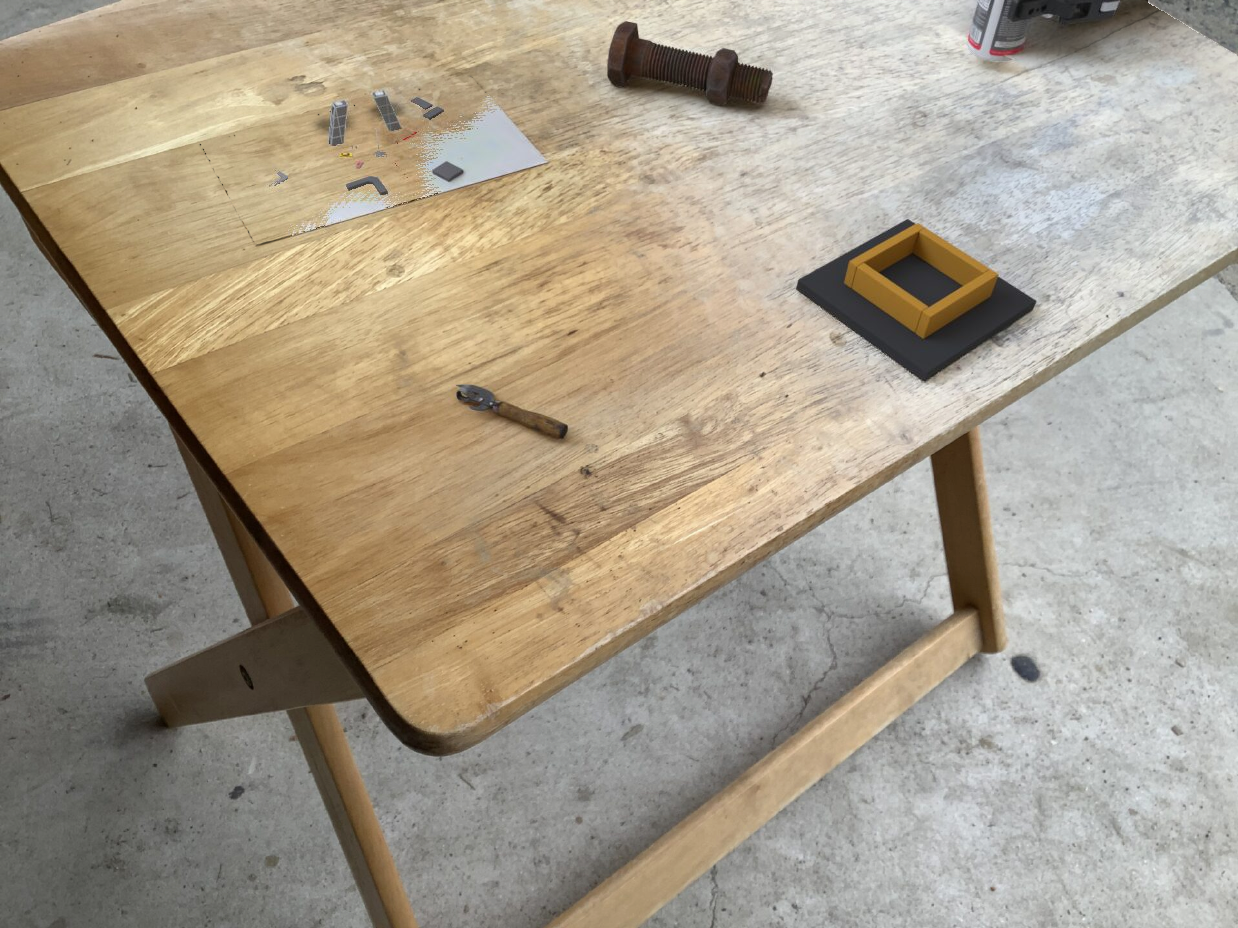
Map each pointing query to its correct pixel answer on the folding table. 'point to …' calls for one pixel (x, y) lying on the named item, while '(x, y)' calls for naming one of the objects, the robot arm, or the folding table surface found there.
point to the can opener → (511, 411)
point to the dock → (916, 298)
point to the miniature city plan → (437, 155)
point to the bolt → (685, 68)
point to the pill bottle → (996, 31)
